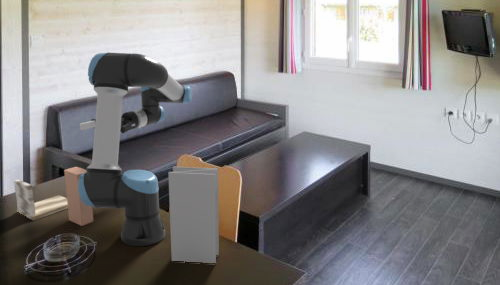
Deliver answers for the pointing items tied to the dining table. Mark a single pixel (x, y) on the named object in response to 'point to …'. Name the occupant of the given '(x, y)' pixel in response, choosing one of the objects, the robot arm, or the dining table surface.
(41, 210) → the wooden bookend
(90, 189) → the robot arm
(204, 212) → the brochure
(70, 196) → the salmon pink rectangular block
